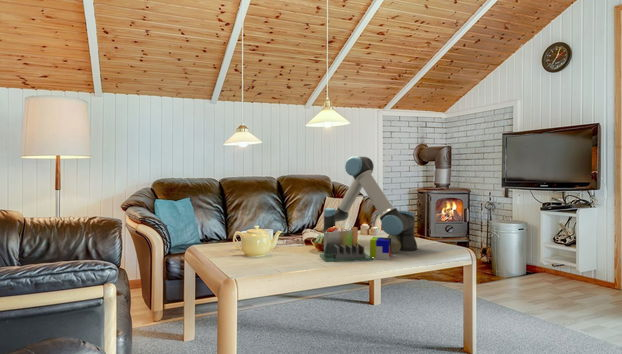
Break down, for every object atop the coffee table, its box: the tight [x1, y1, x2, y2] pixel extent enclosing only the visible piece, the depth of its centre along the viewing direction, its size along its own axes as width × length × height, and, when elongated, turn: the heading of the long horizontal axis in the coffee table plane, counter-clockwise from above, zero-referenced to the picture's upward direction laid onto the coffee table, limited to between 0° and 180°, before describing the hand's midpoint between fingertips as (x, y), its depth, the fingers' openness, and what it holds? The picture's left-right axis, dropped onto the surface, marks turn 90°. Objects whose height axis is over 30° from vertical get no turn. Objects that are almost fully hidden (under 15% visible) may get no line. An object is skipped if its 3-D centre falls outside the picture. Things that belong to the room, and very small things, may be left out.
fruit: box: [386, 234, 401, 254], centre depth 243 cm, size 10×9×12 cm
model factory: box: [319, 226, 374, 263], centre depth 227 cm, size 26×15×16 cm, turn 100°
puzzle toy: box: [369, 236, 392, 260], centre depth 231 cm, size 10×10×10 cm
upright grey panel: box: [323, 229, 352, 254], centre depth 235 cm, size 20×2×12 cm, turn 119°
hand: (342, 241), depth 237 cm, fingers closed
